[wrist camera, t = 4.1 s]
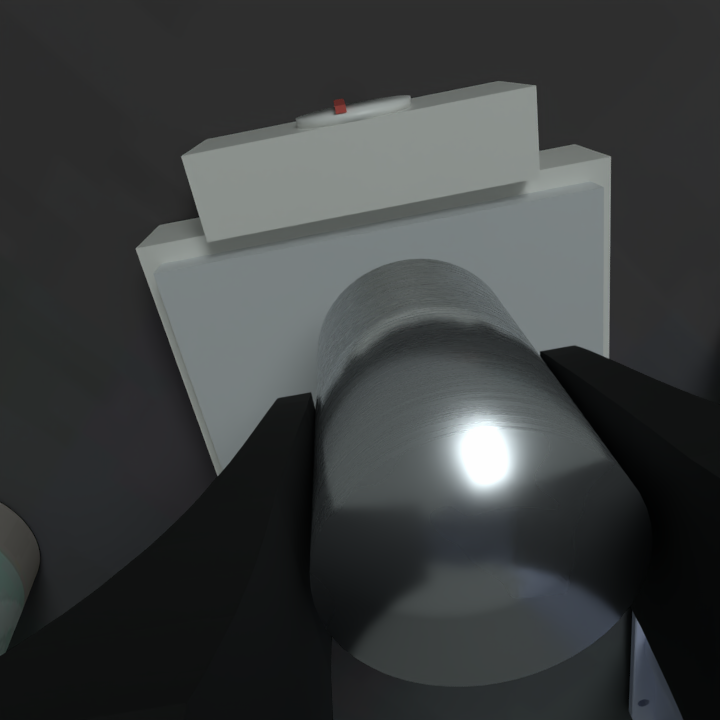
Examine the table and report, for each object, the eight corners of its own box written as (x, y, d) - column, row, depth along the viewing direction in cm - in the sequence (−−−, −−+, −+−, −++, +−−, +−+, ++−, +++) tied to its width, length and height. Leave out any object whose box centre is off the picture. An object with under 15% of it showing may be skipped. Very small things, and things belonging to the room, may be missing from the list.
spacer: (508, 425, 13) (630, 670, 8) (328, 442, 13) (328, 700, 8) (514, 249, 12) (677, 411, 6) (306, 268, 11) (287, 449, 6)
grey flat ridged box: (580, 480, 22) (617, 542, 19) (263, 535, 23) (254, 604, 20) (573, 50, 16) (627, 48, 13) (130, 139, 16) (88, 156, 13)
